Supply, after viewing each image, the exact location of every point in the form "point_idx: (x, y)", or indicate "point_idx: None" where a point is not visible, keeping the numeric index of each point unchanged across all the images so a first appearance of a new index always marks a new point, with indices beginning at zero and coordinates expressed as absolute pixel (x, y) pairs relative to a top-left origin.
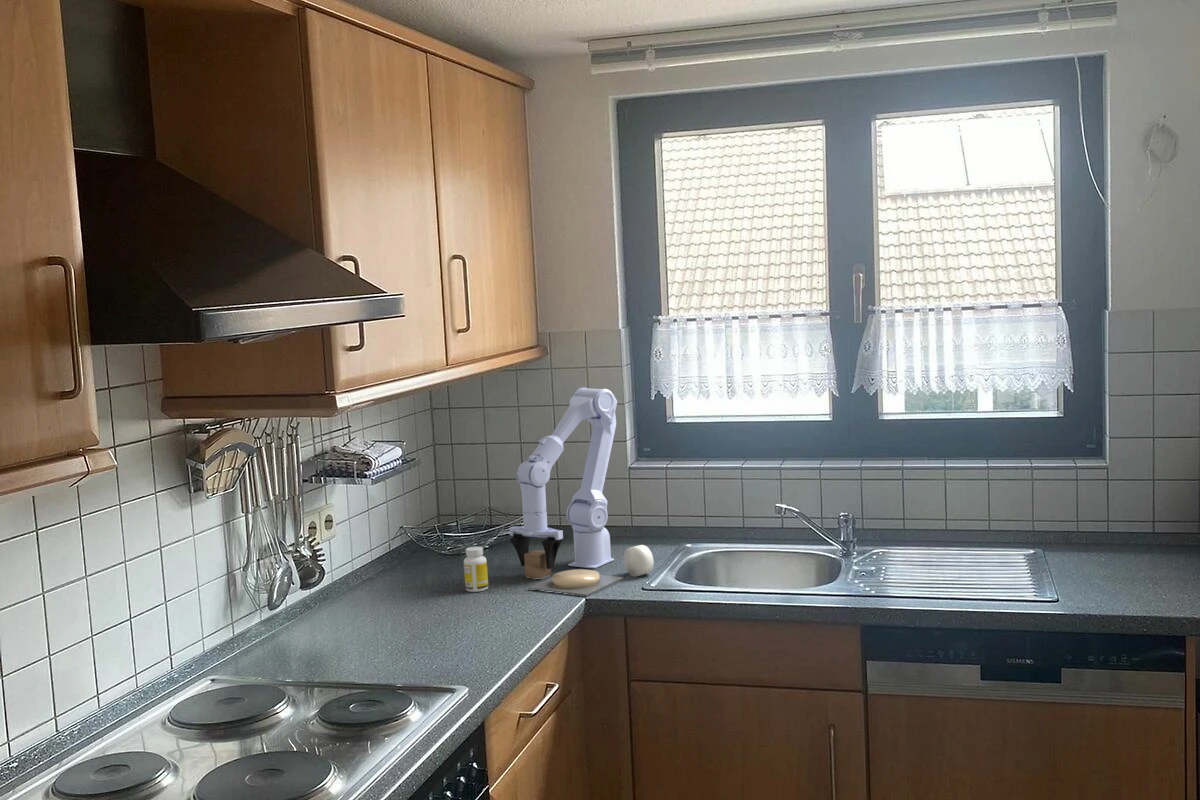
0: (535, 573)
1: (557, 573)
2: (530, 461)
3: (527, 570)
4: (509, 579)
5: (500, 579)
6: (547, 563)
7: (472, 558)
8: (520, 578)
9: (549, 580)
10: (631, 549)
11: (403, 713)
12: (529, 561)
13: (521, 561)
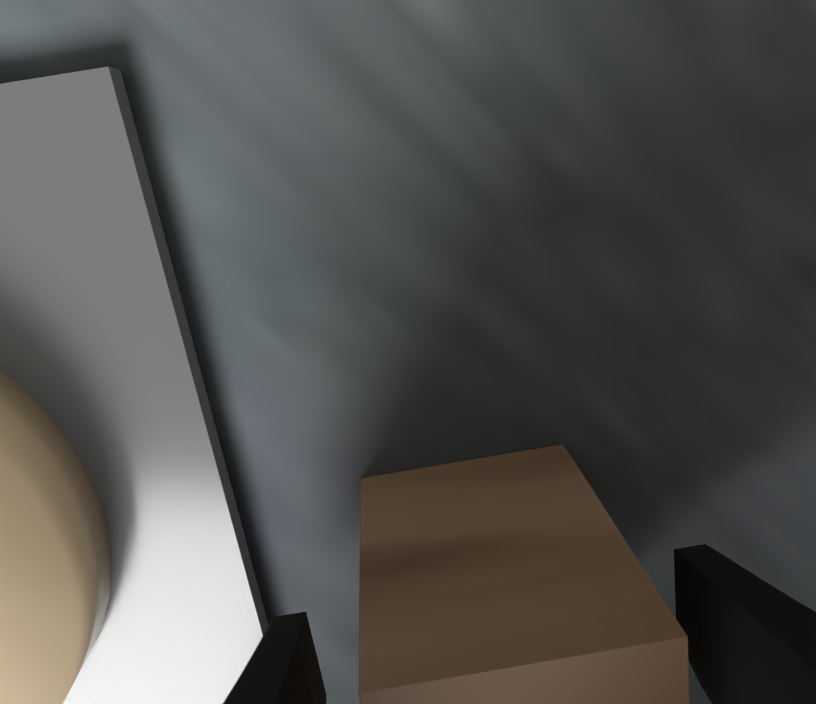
0: (430, 501)
1: (42, 550)
2: None
3: (553, 495)
4: (698, 319)
5: (798, 264)
6: (268, 656)
7: None
8: (610, 412)
9: (163, 454)
10: None
11: None
12: (546, 577)
13: (720, 571)
